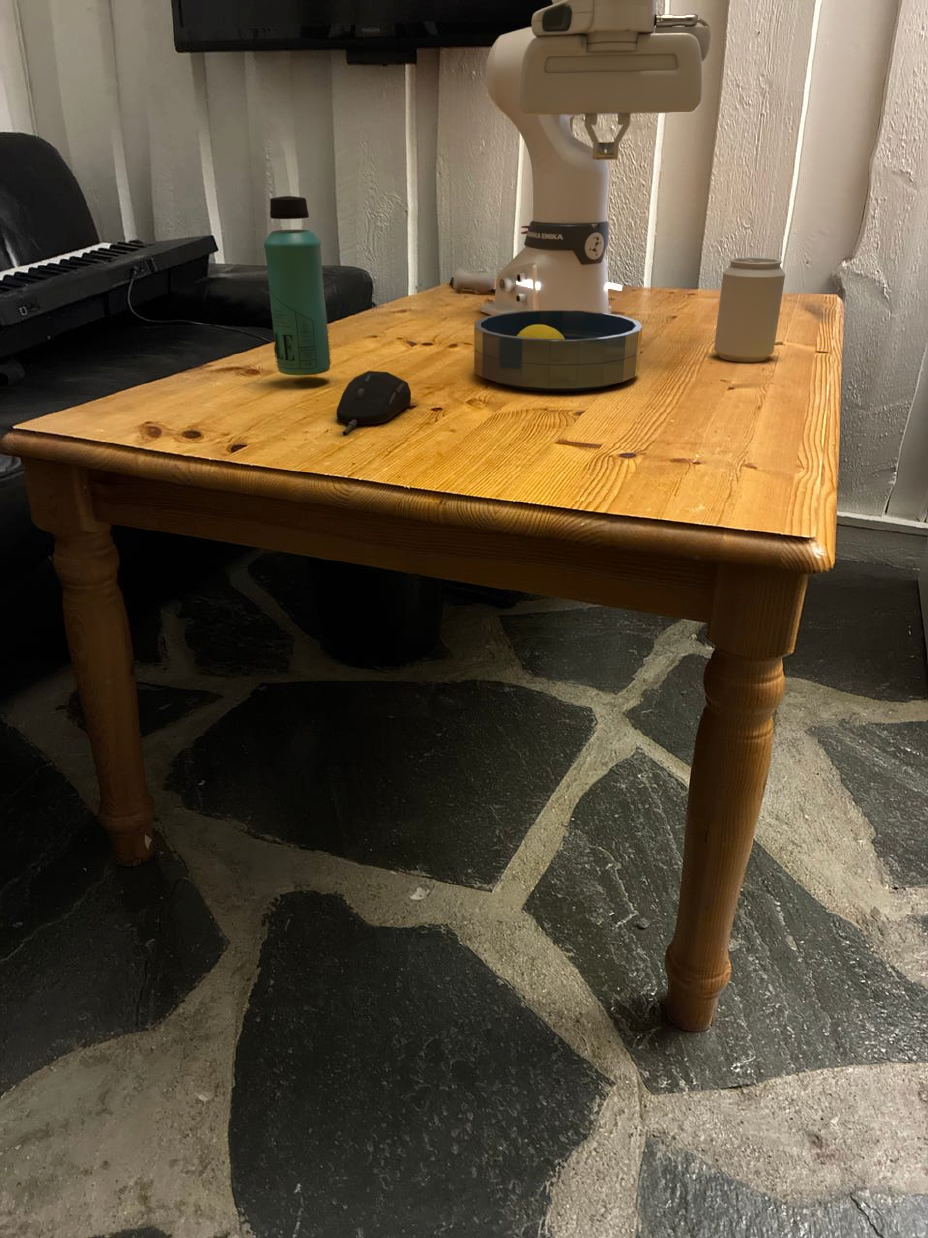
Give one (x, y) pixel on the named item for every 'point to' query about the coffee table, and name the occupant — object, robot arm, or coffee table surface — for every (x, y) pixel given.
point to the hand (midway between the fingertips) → (605, 159)
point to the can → (749, 309)
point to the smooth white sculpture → (473, 281)
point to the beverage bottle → (296, 293)
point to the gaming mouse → (372, 399)
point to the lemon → (540, 332)
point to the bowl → (558, 350)
